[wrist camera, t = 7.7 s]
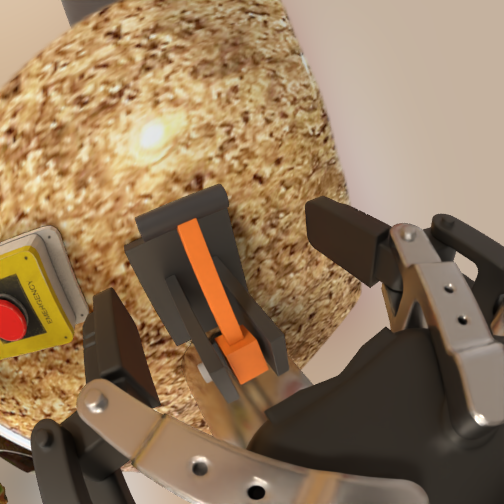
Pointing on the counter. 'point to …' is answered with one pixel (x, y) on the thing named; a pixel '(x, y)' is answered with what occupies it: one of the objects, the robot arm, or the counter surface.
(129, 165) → the counter surface
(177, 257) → the orange lever mount
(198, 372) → the kettle
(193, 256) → the switch
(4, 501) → the pouch
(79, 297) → the emergency button
